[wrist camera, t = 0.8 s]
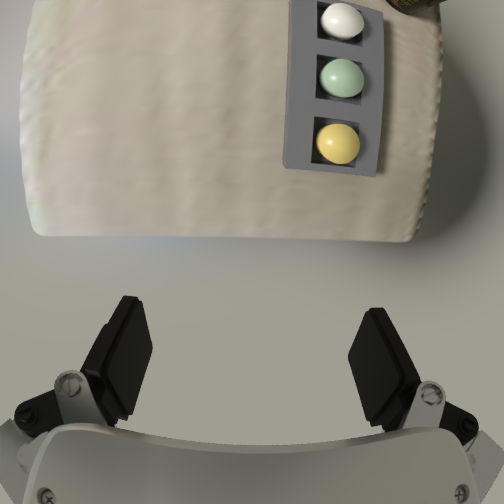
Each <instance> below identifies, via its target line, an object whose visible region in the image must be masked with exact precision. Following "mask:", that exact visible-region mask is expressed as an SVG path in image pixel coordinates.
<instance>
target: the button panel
mask: <svg viewBox="0 0 504 504" xmlns="http://www.w3.org/2000/svg"><path fill="white" fill-rule="evenodd" d="M335 3H344V4H348V5H350V6H352V7H354V8H355V9H356V10H357V11H358V12H359V13H360V14H361V15H362V17H363V20H364V27H363V30H362V31H361V32H360V33H358V34H357V35H355V36H354V37H353V38H351V39H349V40H344V41H342V40H336V39H334V38H332V37H330V36H328V35H327V34H326V33H325V32H324V31H323V29H322V27H321V24H320V18H321V16H322V15H323V13H324V12H325V11H326V9H327V8H328V7H329V6H330V5H332V4H335ZM336 59H347V60H350V61H352V62H354V63H355V64H356V65H357V66H358V67H359V68H360V69H361V71H362V73H363V76H364V85H363V88H362V90H361V91H360V92H359V93H358V94H356V95H354V96H351V97H345V98H336V97H333V96H330V95H329V94H327V93H326V92H325V91H324V90H323V88H322V87H321V85H320V81H319V74H320V71H321V70H322V68H323V67H324V66H325V65H327V64H328V63H330V62H331V61H333V60H336ZM383 93H384V29H383V13H382V12H380V11H377V10H374V9H370V8H367V7H363V6H360V5H356V4H352V3H348V2H344V1H340V0H289V28H288V63H287V89H286V111H285V130H284V148H283V165H284V167H285V168H288V169H302V170H315V171H326V172H336V173H345V174H354V175H362V176H369V177H375V176H376V169H377V162H378V154H379V145H380V135H381V124H382V111H383ZM330 123H336V124H344V125H347V126H349V127H351V128H352V129H353V130H354V131H355V132H356V134H357V135H358V138H359V142H360V147H359V152H358V154H357V156H356V157H355V158H354V159H353V160H352V161H350V162H348V163H345V164H337V163H334V162H332V161H330V160H328V159H326V158H325V157H323V156H322V155H321V154H320V153H319V151H318V150H317V147H316V135H317V133H318V131H319V130H320V129H321V128H322V127H323V126H325V125H327V124H330Z"/></svg>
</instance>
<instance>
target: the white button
mask: <svg viewBox="0 0 504 504" xmlns="http://www.w3.org/2000/svg"><path fill="white" fill-rule="evenodd" d="M320 24H321V27H322V29H323V31H324V32H325V33H326V34H327V35H328V36H330V37H332V38H334V39H336V40H342V41H344V40H349V39H351V38H353V37H354V36H355V35H357V34H358V33H360V32H361V31H362V30H363V27H364V20H363V17H362V15H361V14H360V13H359V12H358V11H357V10H356V9H355V8H354V7H352V6H350V5H348V4H344V3H335V4H332V5H330V6H329V7H328V8H327V9H326V11H325V12H324V13H323V15H322V16H321V18H320Z"/></svg>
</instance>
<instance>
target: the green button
mask: <svg viewBox="0 0 504 504" xmlns="http://www.w3.org/2000/svg"><path fill="white" fill-rule="evenodd" d="M319 81H320V85H321V87H322V88H323V90H324V91H325V92H326V93H327V94H329V95H330V96H333V97H336V98H345V97H351V96H354V95H356V94H358V93H359V92H360V91H361V90H362V88H363V85H364V76H363V73H362V71H361V69H360V68H359V67H358V66H357V65H356V64H355V63H354V62H352V61H350V60H347V59H336V60H333V61H331V62H330V63H328V64H327V65H325V66H324V67H323V68H322V70H321V71H320V74H319Z"/></svg>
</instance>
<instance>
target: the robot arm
mask: <svg viewBox="0 0 504 504" xmlns="http://www.w3.org/2000/svg"><path fill="white" fill-rule="evenodd" d="M152 349H153V347H152V341H151V338H150V334H149V330H148V326H147V321H146V317H145V312H144V308H143V304H142V301H139V299H138V298H137V297H134V296H123V297H122V299H121V301H120V303H119V304H118V306H117V308H116V309H115V311H114V313H113V315H112V317H111V318H110V320H109V322H108V324H105V325H104V326H103V328H102V329H101V331H100V333H99V335H98V337H97V338H96V340H95V342H94V344H93V346H92V348H91V350H90V352H89V354H88V356H87V358H86V360H85V362H84V364H83V366H82V368H81V370H80V372H79V371H76V370H69V371H65V372H63V373H61V374H60V375H59V376H58V377H57V379H56V381H55V384H54V389H53V390H51V391H49V392H46V393H44V394H42V395H39V396H37V397H34V398H32V399H30V400H27V401H25V402H23V403H21V404H20V405H19V406H18V407H17V409H16V411H15V415H14V420H11V419H9V420H7V421H6V422H5V423H4V424H3V425H1V426H0V483H1V484H2V486H3V488H4V489H5V491H6V492H7V494H8V495H9V497H10V498H11V500H12V501H13V503H14V504H481V502H482V501H483V499H484V497H485V495H486V494H487V493H488V491H489V489H490V488H491V486H492V484H493V483H494V481H495V479H496V477H497V476H498V474H499V472H500V470H501V468H502V466H503V464H504V451H503V450H502V448H500V446H499V445H497V444H496V443H495V442H494V441H493V440H492V439H491V438H490V437H489V436H488V435H487V434H486V433H485V432H484V431H483V430H481V431H478V429H479V426H478V422H477V419H476V418H475V417H474V416H473V415H472V414H470V413H468V412H466V411H464V410H462V409H460V408H458V407H456V406H454V405H453V404H450V403H449V402H447V401H446V395H445V391H444V390H443V388H442V387H441V386H440V385H439V384H438V383H436V382H433V381H425V382H421V380H420V376H419V374H418V372H417V370H416V368H415V366H414V364H413V362H412V360H411V358H410V356H409V354H408V352H407V350H406V348H405V346H404V344H403V342H402V340H401V338H400V336H399V335H398V333H397V331H396V329H395V327H394V325H393V324H392V322H391V320H390V318H389V316H388V314H387V313H386V311H385V309H384V308H370V309H369V311H366V312H365V315H364V317H363V320H362V322H361V325H360V327H359V330H358V332H357V335H356V337H355V339H354V342H353V344H352V347H351V349H350V351H349V354H348V361H349V363H350V367H351V370H352V373H353V376H354V380H355V383H356V386H357V390H358V393H359V396H360V400H361V403H362V407H363V410H364V413H365V417H366V420H367V421H370V424H371V427H373V426H378V425H382V428H383V431H382V433H380V434H375V435H369V436H364V437H358V438H351V439H345V440H338V441H330V442H322V443H321V442H320V443H309V444H296V445H295V444H294V445H263V446H262V445H228V444H215V443H203V442H194V441H186V440H179V439H172V438H166V437H160V436H154V435H149V434H144V433H139V432H134V431H129V430H125V429H120V428H117V426H116V424H117V421H118V419H122V420H126V421H127V419H128V416H129V415H132V414H133V411H134V408H135V405H136V401H137V398H138V394H139V391H140V388H141V385H142V381H143V378H144V375H145V372H146V369H147V366H148V363H149V360H150V357H151V353H152Z"/></svg>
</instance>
